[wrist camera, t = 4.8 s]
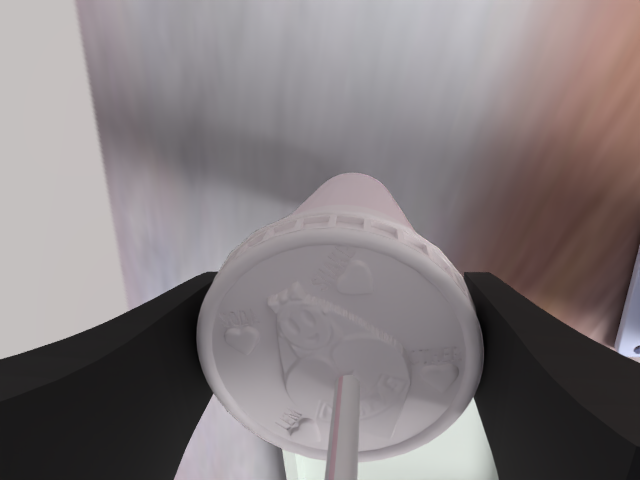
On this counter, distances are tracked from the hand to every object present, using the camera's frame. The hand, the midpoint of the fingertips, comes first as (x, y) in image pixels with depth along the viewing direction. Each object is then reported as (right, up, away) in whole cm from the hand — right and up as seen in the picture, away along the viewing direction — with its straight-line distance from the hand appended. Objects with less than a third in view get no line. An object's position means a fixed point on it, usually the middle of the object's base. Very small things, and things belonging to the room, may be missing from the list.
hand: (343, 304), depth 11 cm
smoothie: (+1, +3, +7) cm, 7 cm away
